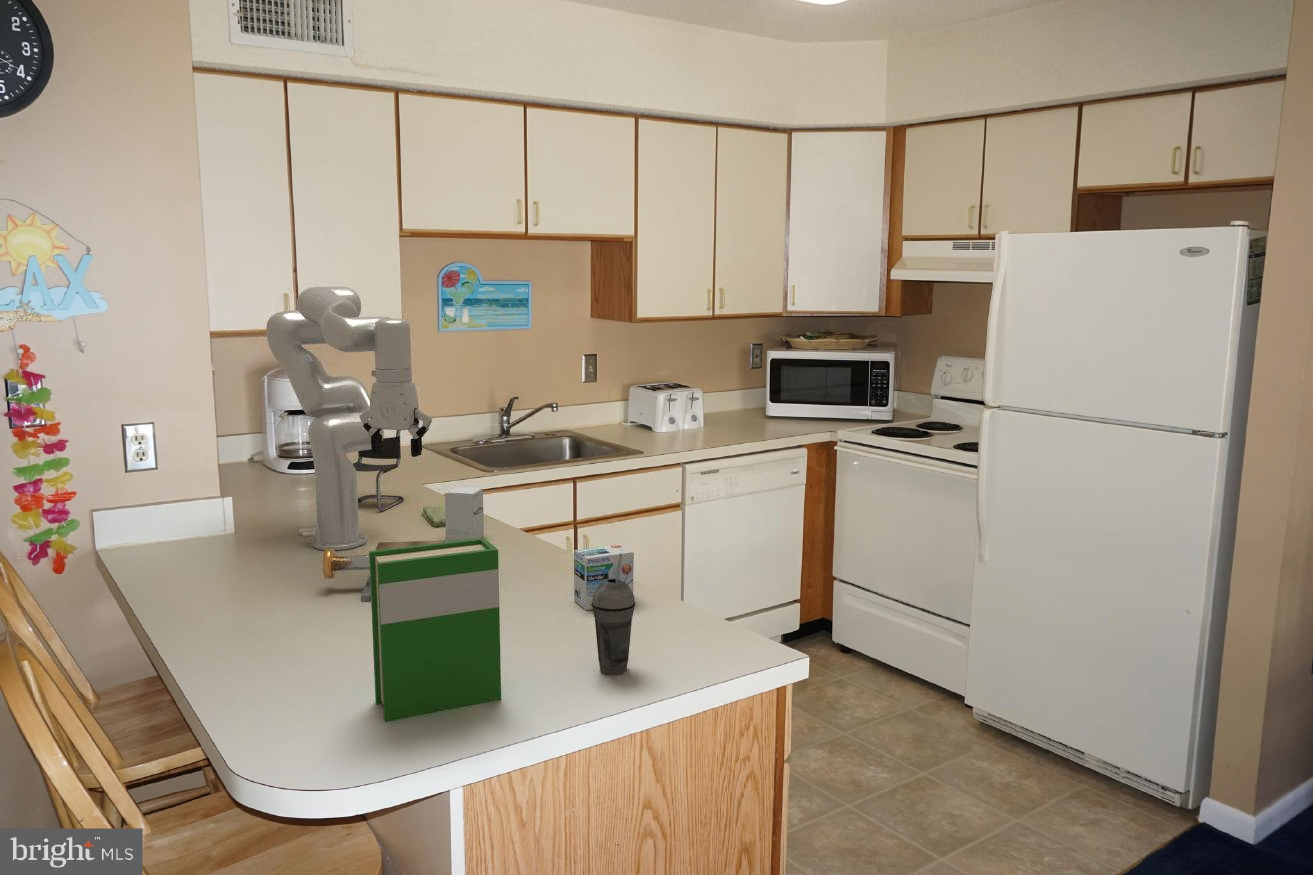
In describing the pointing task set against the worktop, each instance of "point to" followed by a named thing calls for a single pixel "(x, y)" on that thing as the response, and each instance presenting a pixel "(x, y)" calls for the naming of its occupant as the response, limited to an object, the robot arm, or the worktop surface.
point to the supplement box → (464, 514)
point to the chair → (381, 467)
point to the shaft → (343, 563)
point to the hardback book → (435, 627)
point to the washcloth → (435, 515)
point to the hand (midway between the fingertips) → (396, 454)
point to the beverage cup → (613, 623)
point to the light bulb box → (599, 570)
